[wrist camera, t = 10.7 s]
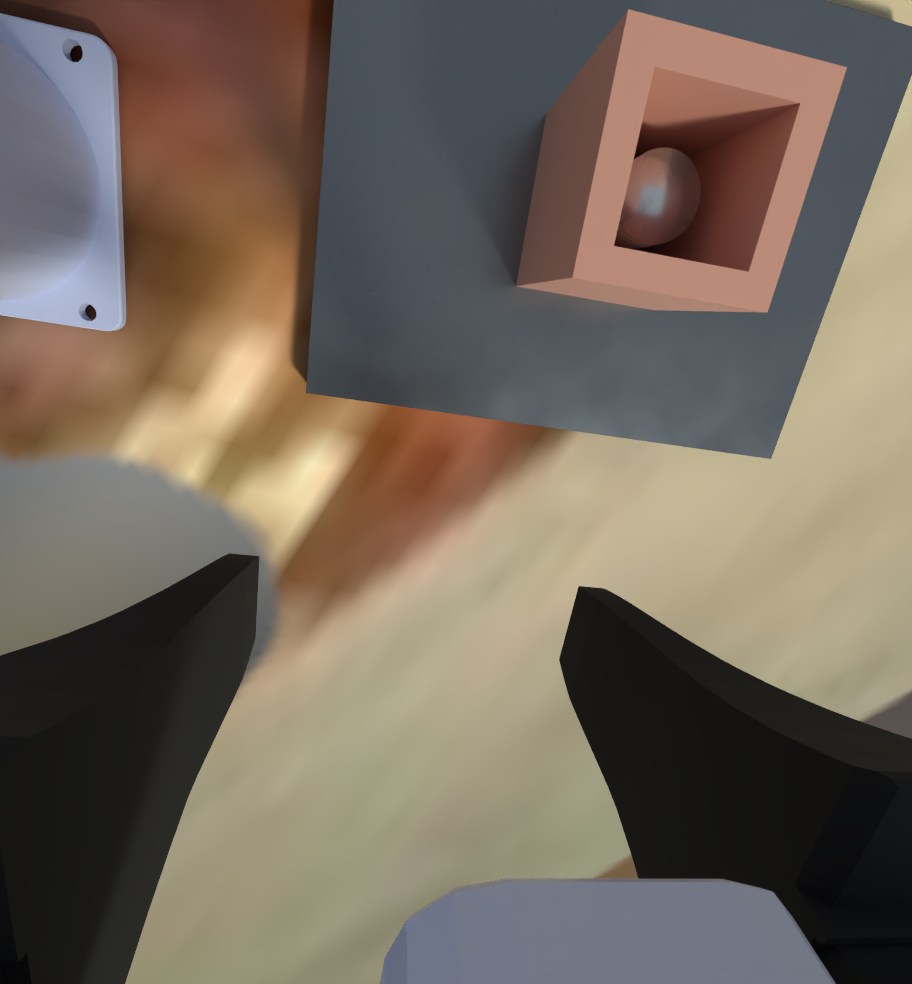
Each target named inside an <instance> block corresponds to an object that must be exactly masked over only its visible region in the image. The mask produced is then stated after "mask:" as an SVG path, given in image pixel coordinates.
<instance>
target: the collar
mask: <svg viewBox="0 0 912 984" xmlns="http://www.w3.org/2000/svg"><path fill="white" fill-rule="evenodd" d="M846 69H847V67H844V66H840V65H836V64H833V63H829V62H825V61H821V60H818V59H814V58H810V57H806V56H803V55H799V54H795V53H791V52H788V51H784V50H780V49H776V48H772V47H769V46H765V45H761V44H757V43H754V42H750V41H746V40H742V39H739V38H735V37H731V36H727V35H724V34H720V33H716V32H712V31H709V30H705V29H701V28H697V27H694V26H690V25H686V24H682V23H678V22H675V21H671V20H667V19H663V18H660V17H656V16H652V15H648V14H645V13H641V12H637V11H633V10H630V9H628V10H627V11H626V13H625V14H624V15H623V17H622V18H621V19H620V20H619V22H618V23H617V24H616V25H615V27H614V28H613V29H612V30H611V32H610V33H609V34H608V36H607V37H606V38H605V39H604V41H603V42H602V43H601V44H600V46H599V47H598V48H597V50H596V51H595V52H594V53H593V55H592V56H591V57H590V58H589V60H588V61H587V62H586V63H585V65H584V66H583V67H582V69H581V70H580V71H579V72H578V74H577V75H576V76H575V77H574V79H573V80H572V81H571V82H570V84H569V85H568V86H567V88H566V89H565V90H564V91H563V93H562V94H561V95H560V96H559V98H558V99H557V100H556V101H555V103H554V104H553V105H552V107H551V108H550V109H549V110H548V112H547V113H546V119H545V125H544V130H543V136H542V141H541V147H540V153H539V158H538V164H537V170H536V175H535V181H534V187H533V192H532V198H531V204H530V209H529V215H528V220H527V226H526V232H525V237H524V243H523V249H522V254H521V260H520V266H519V271H518V277H517V283H516V286H517V287H523V288H529V289H534V290H540V291H546V292H552V293H557V294H563V295H569V296H575V297H581V298H586V299H592V300H598V301H604V302H609V303H615V304H621V305H627V306H632V307H638V308H644V309H650V310H669V311H716V312H764V313H767V312H768V309H769V306H770V303H771V300H772V297H773V294H774V291H775V288H776V285H777V282H778V279H779V276H780V273H781V269H782V266H783V263H784V260H785V257H786V254H787V251H788V248H789V245H790V242H791V239H792V236H793V233H794V229H795V226H796V223H797V220H798V217H799V214H800V211H801V208H802V205H803V202H804V199H805V196H806V193H807V189H808V186H809V183H810V180H811V177H812V174H813V171H814V168H815V165H816V162H817V159H818V156H819V153H820V149H821V146H822V143H823V140H824V137H825V134H826V131H827V128H828V125H829V122H830V119H831V116H832V113H833V109H834V106H835V103H836V100H837V97H838V94H839V91H840V88H841V85H842V82H843V79H844V76H845V73H846ZM661 147H668V148H673V149H676V150H679V151H680V152H682V153H684V154H685V155H686V156H687V157H688V158H689V159H690V160H691V161H692V162H693V164H694V165H695V167H696V169H697V172H698V174H699V178H700V185H701V196H700V202H699V206H698V209H697V212H696V214H695V217H694V218H693V220H692V222H691V223H690V225H689V226H688V227H687V229H686V230H685V231H684V232H683V233H681V234H680V235H679V236H678V237H676V238H675V239H673V240H671V241H669V242H666V243H662V244H658V245H653V246H649V247H647V249H646V252H643V251H638V250H632V249H627V248H622V247H617V246H614V243H615V239H616V234H617V230H618V225H619V221H620V217H621V212H622V208H623V204H624V199H625V195H626V190H627V186H628V182H629V177H630V173H631V168H632V164H633V160H634V159H636V158H637V157H639V156H640V155H642V154H644V153H646V152H648V151H650V150H652V149H655V148H661Z"/></svg>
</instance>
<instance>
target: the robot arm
mask: <svg viewBox="0 0 912 984" xmlns="http://www.w3.org/2000/svg"><path fill="white" fill-rule="evenodd" d="M74 46H81V48H82V51H83V56H82V59H81V60H80V61H79V62H73V61H72V59H71V56H70V53H71V49H72V48H73V47H74ZM88 305H92V306H93V307H94V309H95V310H96V313H97V315H96V318H95V319H94V320H91V319H90V318H89V317H88V316H87V315H86V312H85V310H86V307H87V306H88ZM0 315H3V316H10V317H16V318H23V319H30V320H36V321H43V322H50V323H56V324H63V325H69V326H76V327H83V328H89V329H96V330H102V331H116V330H119V329H121V328H122V327H123V326H124V324H125V323H126V292H125V264H124V236H123V207H122V179H121V151H120V123H119V95H118V67H117V60H116V56H115V54H114V53H113V51H112V49H111V48H110V47H109V46H108V45H107V44H106V43H105V42H104V41H102V40H101V39H100V38H99V37H97V36H94V35H92V34H88V33H84V32H79V31H75V30H71V29H66V28H62V27H58V26H53V25H49V24H45V23H40V22H36V21H32V20H28V19H23V18H19V17H15V16H10V15H6V14H2V13H0ZM258 571H259V556H249V555H238V554H227V555H225V556H223V557H221V558H219V559H218V560H216V561H214V562H212V563H210V564H209V565H207V566H205V567H203V568H202V569H200V570H199V571H197V572H195V573H193V574H191V575H190V576H188V577H186V578H184V579H182V580H181V581H179V582H177V583H175V584H174V585H172V586H170V587H168V588H166V589H164V590H163V591H161V592H159V593H157V594H155V595H153V596H151V597H149V598H147V599H145V600H143V601H141V602H139V603H137V604H135V605H133V606H131V607H129V608H127V609H125V610H123V611H121V612H118V613H116V614H114V615H112V616H109V617H107V618H105V619H103V620H100V621H98V622H96V623H93V624H90V625H88V626H85V627H83V628H80V629H78V630H75V631H73V632H70V633H68V634H65V635H62V636H59V637H57V638H54V639H51V640H48V641H45V642H41V643H38V644H35V645H32V646H29V647H26V648H23V649H20V650H17V651H14V652H10V653H7V654H4V655H1V656H0V984H125V982H126V979H127V976H128V973H129V969H130V966H131V963H132V960H133V957H134V954H135V951H136V948H137V945H138V942H139V939H140V935H141V932H142V929H143V926H144V923H145V920H146V917H147V914H148V911H149V908H150V905H151V902H152V899H153V896H154V893H155V890H156V887H157V884H158V881H159V879H160V876H161V873H162V870H163V867H164V864H165V861H166V858H167V855H168V852H169V849H170V846H171V844H172V841H173V838H174V835H175V832H176V830H177V827H178V824H179V821H180V818H181V816H182V813H183V810H184V807H185V804H186V801H187V799H188V796H189V794H190V791H191V789H192V787H193V784H194V782H195V780H196V777H197V775H198V773H199V771H200V769H201V766H202V764H203V762H204V760H205V758H206V756H207V754H208V752H209V749H210V747H211V745H212V743H213V741H214V739H215V737H216V735H217V733H218V730H219V728H220V726H221V724H222V722H223V720H224V718H225V716H226V714H227V711H228V709H229V707H230V705H231V703H232V701H233V699H234V696H235V694H236V692H237V690H238V688H239V686H240V683H241V681H242V679H243V676H244V673H245V670H246V667H247V664H248V661H249V657H250V654H251V651H252V647H253V644H254V640H255V633H256V612H257V592H258ZM559 661H560V665H561V668H562V672H563V676H564V680H565V684H566V687H567V691H568V694H569V697H570V700H571V703H572V705H573V707H574V710H575V712H576V714H577V717H578V719H579V722H580V724H581V726H582V729H583V731H584V733H585V735H586V738H587V740H588V742H589V744H590V747H591V749H592V751H593V753H594V756H595V758H596V760H597V763H598V765H599V767H600V769H601V772H602V774H603V776H604V778H605V781H606V783H607V785H608V788H609V790H610V793H611V795H612V798H613V800H614V803H615V806H616V808H617V811H618V814H619V817H620V820H621V823H622V826H623V830H624V833H625V836H626V839H627V842H628V845H629V848H630V851H631V854H632V858H633V861H634V864H635V868H636V871H637V875H638V878H639V879H553V878H506V879H500V880H495V881H489V882H484V883H478V884H473V885H468V886H462V887H457V888H454V889H453V890H451V891H449V892H448V893H446V894H445V895H443V896H441V897H440V898H438V899H436V900H435V901H433V902H431V903H430V904H428V905H427V906H425V907H423V908H422V909H420V910H418V911H417V912H415V913H414V914H413V915H412V916H411V917H410V918H409V919H408V920H407V921H406V922H405V924H404V926H403V928H402V929H401V931H400V933H399V934H398V936H397V938H396V940H395V941H394V943H393V945H392V946H391V948H390V950H389V952H388V953H387V955H386V957H385V959H384V965H383V970H382V976H381V981H380V984H912V739H910V738H907V737H904V736H901V735H898V734H895V733H892V732H889V731H886V730H883V729H880V728H877V727H875V726H871V725H869V724H866V723H863V722H860V721H857V720H854V719H852V718H849V717H846V716H844V715H841V714H839V713H836V712H833V711H831V710H828V709H826V708H823V707H821V706H818V705H816V704H814V703H811V702H809V701H806V700H804V699H802V698H799V697H797V696H795V695H792V694H790V693H788V692H785V691H783V690H781V689H779V688H777V687H774V686H772V685H770V684H768V683H766V682H764V681H762V680H760V679H758V678H756V677H754V676H752V675H750V674H748V673H746V672H744V671H742V670H740V669H738V668H736V667H734V666H732V665H730V664H729V663H727V662H725V661H723V660H721V659H719V658H718V657H716V656H714V655H713V654H711V653H709V652H707V651H706V650H704V649H702V648H700V647H699V646H697V645H695V644H694V643H692V642H690V641H689V640H687V639H686V638H684V637H682V636H681V635H679V634H677V633H676V632H674V631H673V630H671V629H670V628H668V627H666V626H665V625H663V624H662V623H660V622H659V621H657V620H655V619H654V618H652V617H651V616H649V615H648V614H646V613H645V612H643V611H642V610H640V609H638V608H637V607H635V606H634V605H632V604H631V603H629V602H627V601H626V600H624V599H622V598H621V597H619V596H617V595H615V594H614V593H612V592H610V591H608V590H605V589H603V588H592V587H581V586H579V588H578V591H577V595H576V599H575V603H574V606H573V610H572V614H571V618H570V621H569V625H568V629H567V633H566V636H565V640H564V644H563V648H562V651H561V655H560V659H559Z"/></svg>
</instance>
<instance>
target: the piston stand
mask: <svg viewBox="0 0 912 984" xmlns="http://www.w3.org/2000/svg"><path fill="white" fill-rule="evenodd" d="M628 9H630V10H633V11H637V12H641V13H645V14H648V15H652V16H656V17H660V18H663V19H667V20H671V21H675V22H678V23H682V24H686V25H690V26H694V27H697V28H701V29H705V30H709V31H712V32H716V33H720V34H724V35H727V36H731V37H735V38H739V39H742V40H746V41H750V42H754V43H757V44H761V45H765V46H769V47H772V48H776V49H780V50H784V51H788V52H791V53H795V54H799V55H803V56H806V57H810V58H814V59H818V60H821V61H825V62H829V63H833V64H836V65H840V66H844V67H847V69H846V73H845V76H844V79H843V82H842V85H841V88H840V91H839V94H838V97H837V100H836V103H835V106H834V109H833V113H832V116H831V119H830V122H829V125H828V128H827V131H826V134H825V137H824V140H823V143H822V146H821V149H820V153H819V156H818V159H817V162H816V165H815V168H814V171H813V174H812V177H811V180H810V183H809V186H808V189H807V193H806V196H805V199H804V202H803V205H802V208H801V211H800V214H799V217H798V220H797V223H796V226H795V229H794V233H793V236H792V239H791V242H790V245H789V248H788V251H787V254H786V257H785V260H784V263H783V266H782V269H781V273H780V276H779V279H778V282H777V285H776V288H775V291H774V294H773V297H772V300H771V303H770V306H769V309H768V312H767V313H764V312H716V311H669V310H650V309H644V308H638V307H632V306H627V305H621V304H615V303H609V302H604V301H598V300H592V299H586V298H581V297H575V296H569V295H563V294H557V293H552V292H546V291H540V290H534V289H529V288H523V287H517V286H516V283H517V277H518V271H519V266H520V260H521V254H522V249H523V243H524V237H525V232H526V226H527V220H528V215H529V209H530V204H531V198H532V192H533V187H534V181H535V175H536V170H537V164H538V158H539V153H540V147H541V141H542V136H543V130H544V125H545V119H546V113H547V112H548V110H549V109H550V108H551V107H552V105H553V104H554V103H555V101H556V100H557V99H558V98H559V96H560V95H561V94H562V93H563V91H564V90H565V89H566V88H567V86H568V85H569V84H570V82H571V81H572V80H573V79H574V77H575V76H576V75H577V74H578V72H579V71H580V70H581V69H582V67H583V66H584V65H585V63H586V62H587V61H588V60H589V58H590V57H591V56H592V55H593V53H594V52H595V51H596V50H597V48H598V47H599V46H600V44H601V43H602V42H603V41H604V39H605V38H606V37H607V36H608V34H609V33H610V32H611V30H612V29H613V28H614V27H615V25H616V24H617V23H618V22H619V20H620V19H621V18H622V17H623V15H624V14H625V13H626V11H627V10H628ZM911 75H912V27H911V26H908V25H905V24H901V23H898V22H895V21H891V20H888V19H885V18H881V17H878V16H875V15H871V14H868V13H865V12H861V11H858V10H855V9H851V8H848V7H845V6H841V5H838V4H835V3H831V2H828V1H825V0H334V5H333V19H332V33H331V48H330V62H329V76H328V90H327V104H326V118H325V132H324V146H323V160H322V174H321V188H320V202H319V216H318V230H317V244H316V258H315V272H314V286H313V301H312V315H311V329H310V343H309V357H308V371H307V385H306V393H311V394H318V395H325V396H332V397H339V398H346V399H354V400H361V401H368V402H375V403H382V404H389V405H396V406H403V407H410V408H417V409H424V410H431V411H438V412H445V413H452V414H459V415H466V416H473V417H480V418H487V419H494V420H501V421H508V422H515V423H522V424H529V425H536V426H543V427H550V428H558V429H565V430H572V431H579V432H586V433H593V434H600V435H607V436H614V437H621V438H628V439H635V440H642V441H649V442H656V443H663V444H670V445H677V446H684V447H691V448H698V449H705V450H712V451H719V452H726V453H733V454H740V455H747V456H755V457H762V458H769V459H771V457H772V455H773V452H774V449H775V446H776V444H777V441H778V438H779V436H780V433H781V430H782V427H783V425H784V422H785V419H786V416H787V414H788V411H789V408H790V405H791V403H792V400H793V397H794V395H795V392H796V389H797V386H798V384H799V381H800V378H801V375H802V373H803V370H804V367H805V365H806V362H807V359H808V356H809V354H810V351H811V348H812V345H813V343H814V340H815V337H816V335H817V332H818V329H819V326H820V324H821V321H822V318H823V315H824V313H825V310H826V307H827V305H828V302H829V299H830V296H831V294H832V291H833V288H834V285H835V283H836V280H837V277H838V274H839V272H840V269H841V266H842V264H843V261H844V258H845V255H846V253H847V250H848V247H849V244H850V242H851V239H852V236H853V234H854V231H855V228H856V225H857V223H858V220H859V217H860V214H861V212H862V209H863V206H864V204H865V201H866V198H867V195H868V193H869V190H870V187H871V184H872V182H873V179H874V176H875V174H876V171H877V168H878V165H879V163H880V160H881V157H882V154H883V152H884V149H885V146H886V143H887V141H888V138H889V135H890V133H891V130H892V127H893V124H894V122H895V119H896V116H897V113H898V111H899V108H900V105H901V103H902V100H903V97H904V94H905V92H906V89H907V86H908V83H909V81H910V78H911ZM700 196H701V185H700V178H699V174H698V172H697V169H696V167H695V165H694V164H693V162H692V161H691V160H690V159H689V158H688V157H687V156H686V155H685V154H684V153H682V152H680V151H679V150H676V149H673V148H668V147H661V148H655V149H652V150H650V151H648V152H646V153H644V154H642V155H640V156H639V157H637V158H636V159H634V160H633V164H632V168H631V173H630V177H629V182H628V186H627V190H626V195H625V199H624V204H623V208H622V212H621V217H620V221H619V225H618V230H617V234H616V239H615V243H614V246H617V247H622V248H627V249H632V250H638V251H643V252H646V249H647V247H649V246H653V245H658V244H662V243H666V242H669V241H671V240H673V239H675V238H676V237H678V236H679V235H680V234H681V233H683V232H684V231H685V230H686V229H687V227H688V226H689V225H690V223H691V222H692V220H693V218H694V217H695V214H696V212H697V209H698V206H699V202H700Z"/></svg>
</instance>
